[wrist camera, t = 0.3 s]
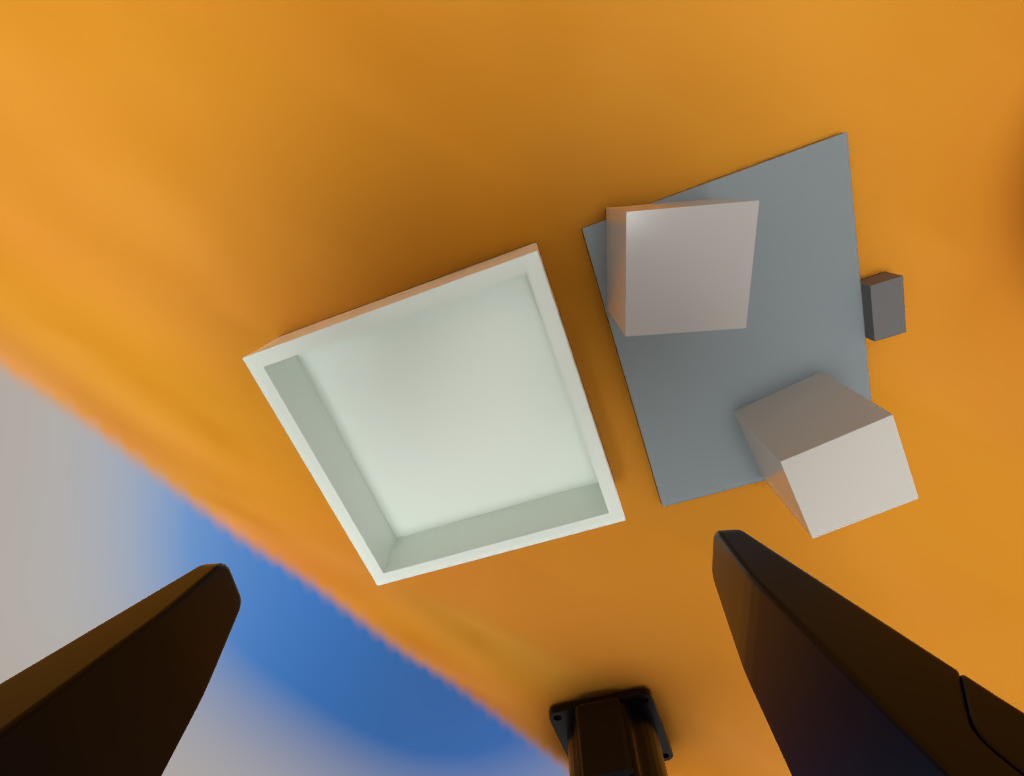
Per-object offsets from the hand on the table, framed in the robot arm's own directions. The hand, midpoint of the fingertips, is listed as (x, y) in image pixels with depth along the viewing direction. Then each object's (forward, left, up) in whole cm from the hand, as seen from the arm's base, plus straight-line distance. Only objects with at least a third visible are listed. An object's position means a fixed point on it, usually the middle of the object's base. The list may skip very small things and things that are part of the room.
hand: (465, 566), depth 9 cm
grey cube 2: (+2, -7, -13) cm, 15 cm away
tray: (-2, +3, -14) cm, 14 cm away
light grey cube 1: (-8, -11, -13) cm, 19 cm away
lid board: (-3, -10, -14) cm, 17 cm away
